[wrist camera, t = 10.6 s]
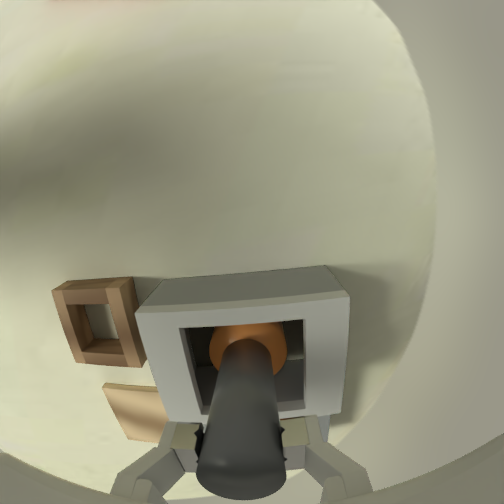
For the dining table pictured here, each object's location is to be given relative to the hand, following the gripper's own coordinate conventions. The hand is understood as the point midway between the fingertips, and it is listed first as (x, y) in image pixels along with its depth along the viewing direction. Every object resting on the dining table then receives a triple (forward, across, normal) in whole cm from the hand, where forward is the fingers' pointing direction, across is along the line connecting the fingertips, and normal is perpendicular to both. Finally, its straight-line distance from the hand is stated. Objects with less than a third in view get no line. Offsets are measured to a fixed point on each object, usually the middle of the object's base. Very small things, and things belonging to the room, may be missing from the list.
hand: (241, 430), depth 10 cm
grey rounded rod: (+7, 0, +1) cm, 7 cm away
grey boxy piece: (+12, 0, +6) cm, 13 cm away
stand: (+12, +12, 0) cm, 17 cm away
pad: (+12, +11, +11) cm, 20 cm away
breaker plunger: (+11, 0, +1) cm, 11 cm away
